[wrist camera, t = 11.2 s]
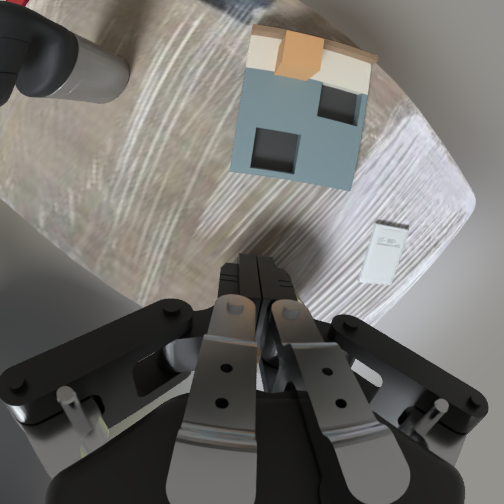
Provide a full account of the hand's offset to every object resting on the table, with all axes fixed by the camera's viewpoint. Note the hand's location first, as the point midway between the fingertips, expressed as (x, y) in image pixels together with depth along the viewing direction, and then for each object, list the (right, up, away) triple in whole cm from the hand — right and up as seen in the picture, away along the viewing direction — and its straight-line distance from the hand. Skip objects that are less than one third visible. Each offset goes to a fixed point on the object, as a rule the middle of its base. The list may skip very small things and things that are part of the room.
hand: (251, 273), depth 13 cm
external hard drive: (+26, +1, +40) cm, 48 cm away
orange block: (+6, +30, +23) cm, 38 cm away
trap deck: (+8, +24, +28) cm, 38 cm away
